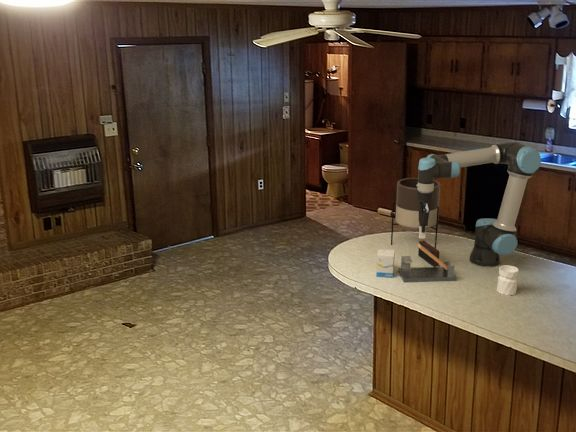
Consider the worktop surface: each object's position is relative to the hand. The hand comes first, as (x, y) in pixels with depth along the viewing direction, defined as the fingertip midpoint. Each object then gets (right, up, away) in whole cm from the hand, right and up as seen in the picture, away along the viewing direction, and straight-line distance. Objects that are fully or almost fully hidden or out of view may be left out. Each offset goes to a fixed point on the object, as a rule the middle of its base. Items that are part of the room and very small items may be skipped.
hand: (422, 237), depth 310 cm
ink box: (-16, -19, +13) cm, 28 cm away
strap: (+6, -11, +4) cm, 13 cm away
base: (+4, -19, +9) cm, 22 cm away
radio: (+9, -14, +27) cm, 32 cm away
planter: (+9, -5, +53) cm, 54 cm away
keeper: (-5, -17, +11) cm, 21 cm away
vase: (+38, -25, -9) cm, 46 cm away
